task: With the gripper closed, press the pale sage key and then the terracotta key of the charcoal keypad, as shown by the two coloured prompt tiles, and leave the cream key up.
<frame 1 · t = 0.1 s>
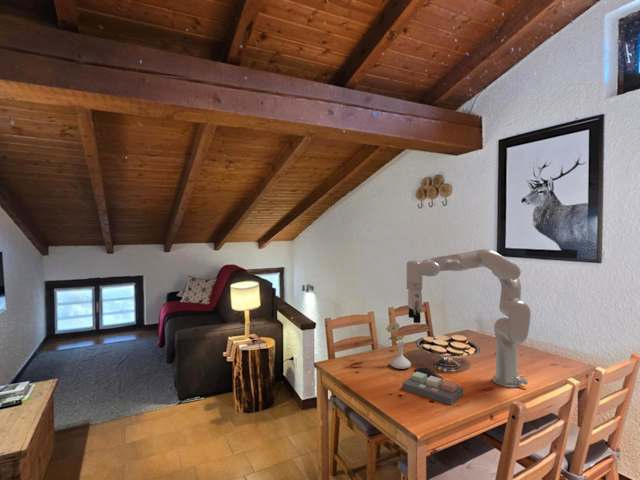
hand: (414, 320, 171), 31 cm above the table, tool pointing down, fingers open, 9 cm apart
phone: (427, 376, 180), on the table
key sage: (419, 377, 168), point 4 cm above the table, slide at 0.0 cm
key terracotta: (449, 386, 158), point 4 cm above the table, slide at 0.0 cm
keypad: (432, 391, 161), on the table
key cream: (434, 382, 163), point 4 cm above the table, slide at 0.0 cm
flower in vase: (398, 366, 191), on the table
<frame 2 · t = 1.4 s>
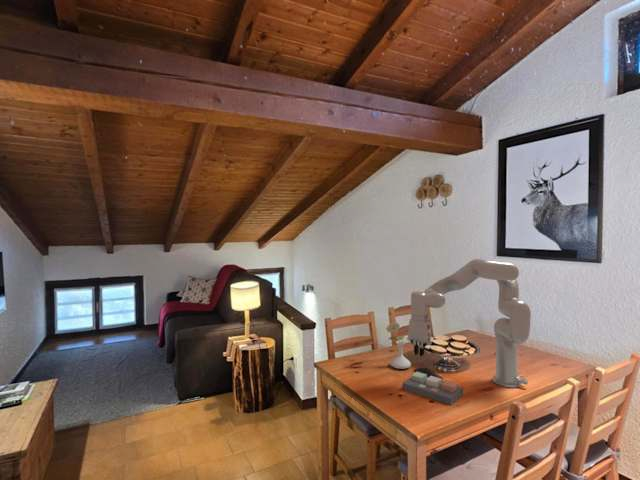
hand: (419, 354, 168), 15 cm above the table, tool pointing down, fingers closed
nothing on the table moved.
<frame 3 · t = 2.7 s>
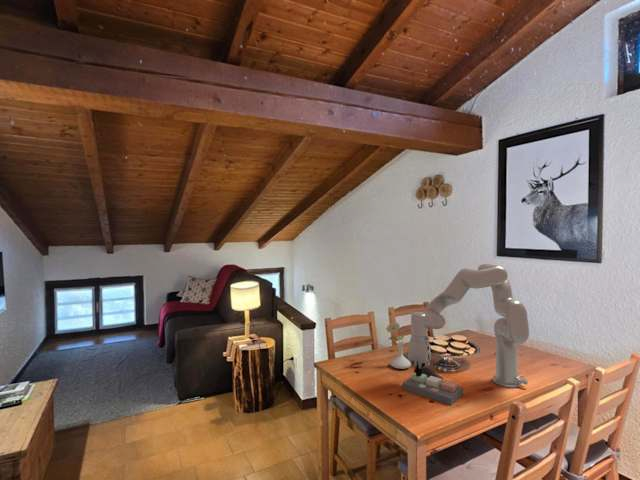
hand: (418, 375, 168), 5 cm above the table, tool pointing down, fingers closed
key sage: (419, 378, 168), point 3 cm above the table, slide at 0.3 cm, touching gripper
everything else where it was.
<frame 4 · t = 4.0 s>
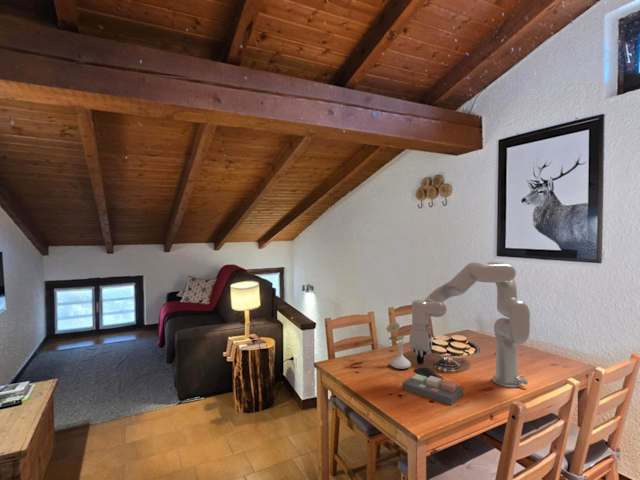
hand: (420, 363, 167), 11 cm above the table, tool pointing down, fingers closed
key sage: (419, 380, 168), point 2 cm above the table, slide at 1.2 cm
everything else where it was.
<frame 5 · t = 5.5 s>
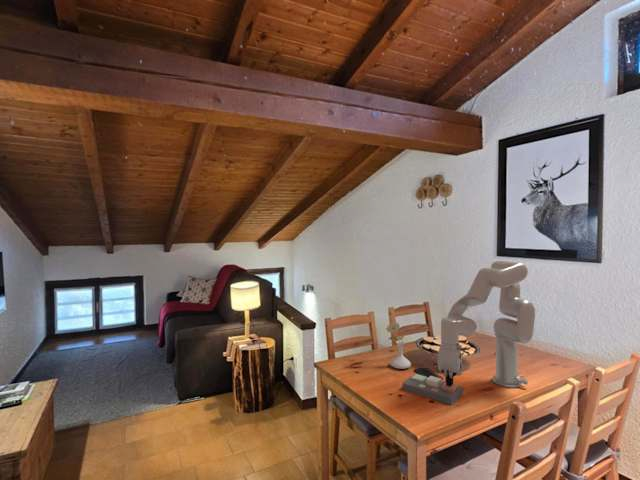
hand: (449, 385, 158), 5 cm above the table, tool pointing down, fingers closed
key terracotta: (449, 388, 158), point 3 cm above the table, slide at 0.7 cm, touching gripper
everything else where it was.
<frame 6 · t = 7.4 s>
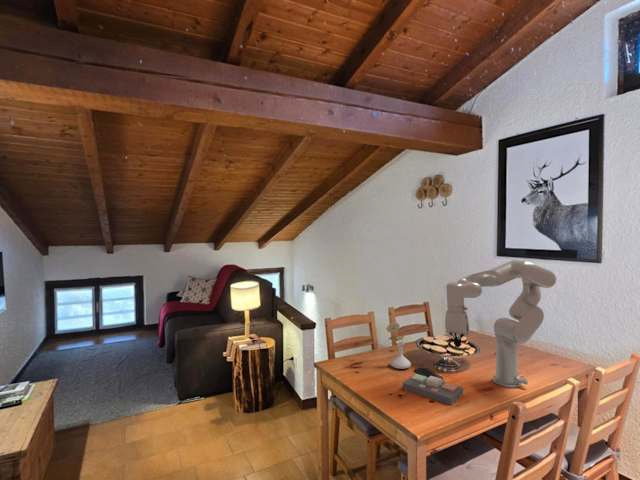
hand: (457, 346, 165), 20 cm above the table, tool pointing down, fingers closed
key terracotta: (449, 389, 158), point 2 cm above the table, slide at 1.2 cm
everything else where it was.
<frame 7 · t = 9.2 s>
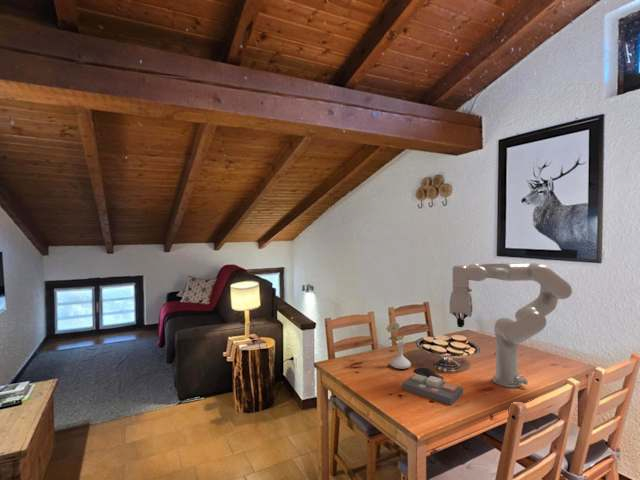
hand: (460, 326, 173), 27 cm above the table, tool pointing down, fingers closed
nothing on the table moved.
at the end: key sage slide at 1.2 cm; key terracotta slide at 1.2 cm; key cream slide at 0.0 cm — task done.
